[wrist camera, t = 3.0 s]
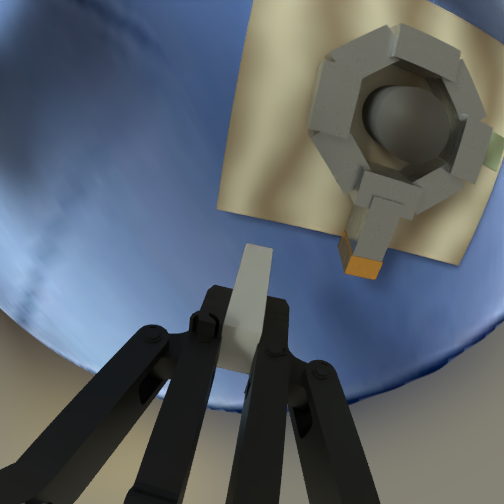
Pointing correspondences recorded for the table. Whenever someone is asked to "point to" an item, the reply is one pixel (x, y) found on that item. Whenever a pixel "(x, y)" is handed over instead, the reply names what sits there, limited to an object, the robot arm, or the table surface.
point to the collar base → (363, 123)
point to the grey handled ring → (381, 177)
